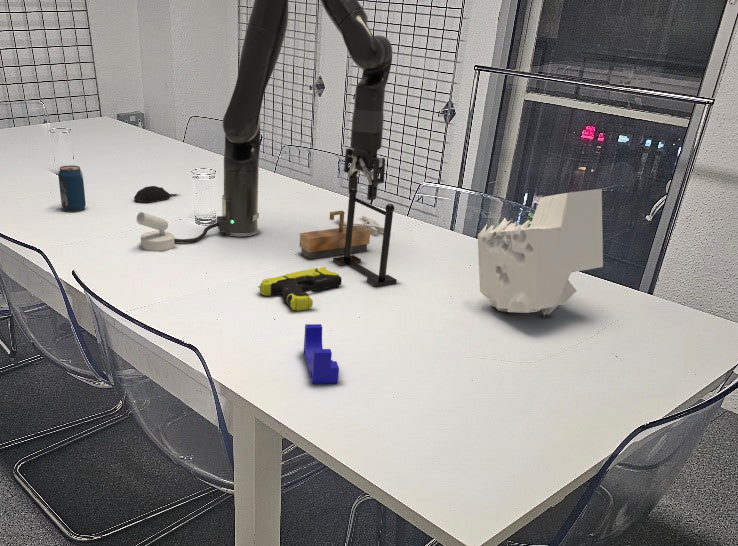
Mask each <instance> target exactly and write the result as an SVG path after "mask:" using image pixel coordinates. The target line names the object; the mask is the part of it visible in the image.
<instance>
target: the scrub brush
mask: <svg viewBox="0 0 738 546" xmlns="http://www.w3.org/2000/svg"><path fill="white" fill-rule="evenodd" d="M335 216H339V219H338V220H339V223H338V227H336V228H328V229H320V230H314V231H307V232H306V231H305V232H300V233H299V248H300V249H301V250H300V254H301V255H302V256H303V257H304V258H306V259H308V260H315V259H324V258H329V257H337V256H344V251H345V240H346V228H347V227H345V226H343V224H344V222H345V211H344V210H335V211H330V212H329V220H331V221H334V220H335ZM370 232H371V231H370V230H369V229H367V228H365V227H363V225H362V226H361V225H358V226H353V234H352V246H351V254H355V253H364V252H367V251H368V250H367V249H368V245H370V240H371V233H370Z"/></svg>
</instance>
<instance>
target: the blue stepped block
mask: <svg viewBox="0 0 738 546" xmlns="http://www.w3.org/2000/svg"><path fill="white" fill-rule="evenodd" d="M332 353H333V352H332V349H331V348H324V347H323V325H322V324H321V323H312V324H311V323H308V324H304V341H303V357H304V360H305V363H306V366H307V370H308V374H309V376H310V380H311V383H312V384H315V385H317V384H318V385H319V384H338V383H339V382H338V381H339V371H340V367H339V364H338V362H337V360H333V359H332V355H333V354H332Z"/></svg>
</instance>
